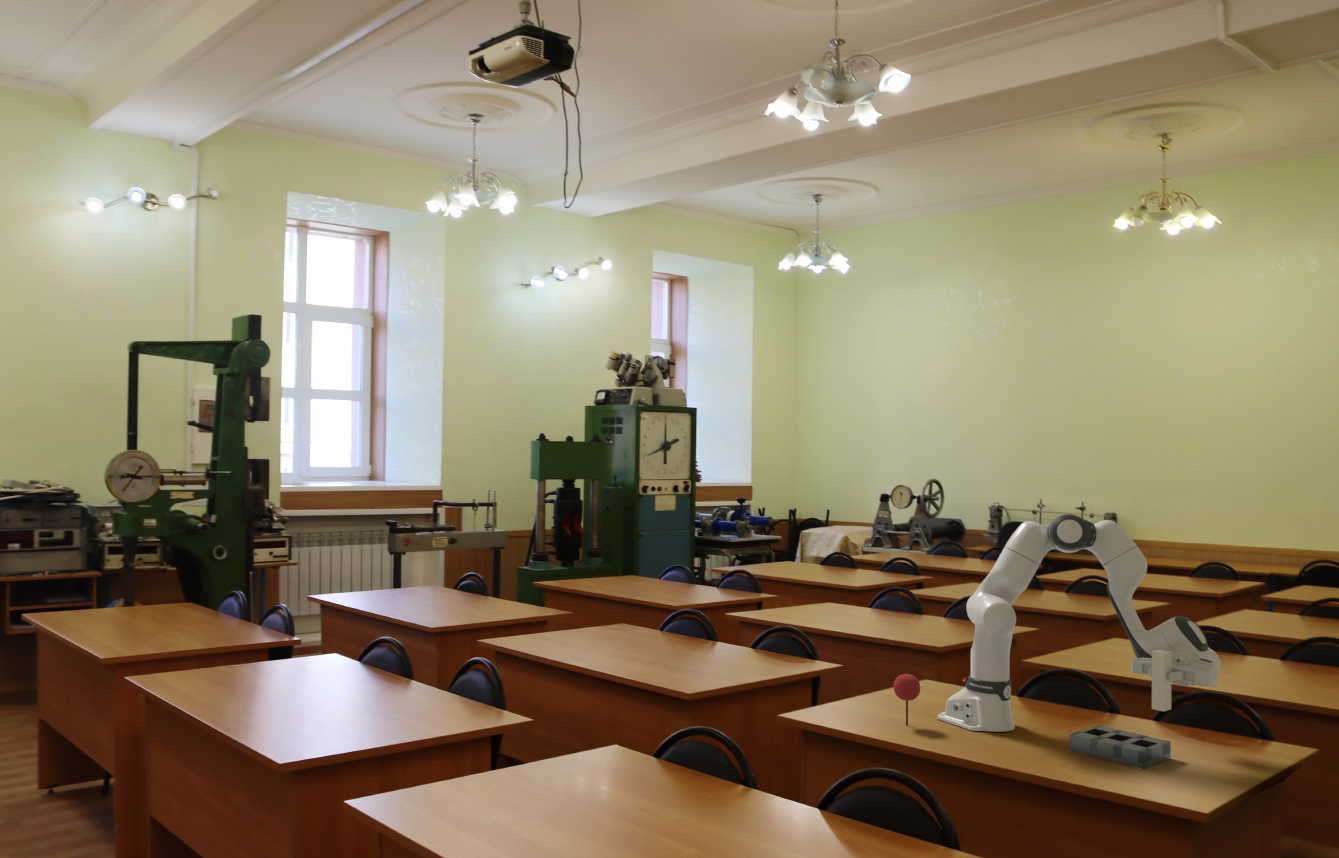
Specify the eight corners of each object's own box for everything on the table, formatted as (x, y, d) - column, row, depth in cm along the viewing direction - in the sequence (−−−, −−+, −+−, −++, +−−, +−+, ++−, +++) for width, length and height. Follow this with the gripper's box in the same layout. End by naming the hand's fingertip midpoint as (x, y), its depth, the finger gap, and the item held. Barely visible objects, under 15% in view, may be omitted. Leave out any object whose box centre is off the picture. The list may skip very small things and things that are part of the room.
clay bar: (1163, 711, 245) (1163, 653, 246) (1151, 708, 247) (1151, 651, 248) (1171, 709, 248) (1171, 651, 248) (1159, 706, 250) (1159, 649, 251)
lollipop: (917, 722, 285) (918, 671, 285) (921, 729, 277) (922, 677, 278) (891, 721, 285) (892, 670, 286) (895, 728, 278) (895, 676, 278)
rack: (1142, 769, 243) (1142, 751, 243) (1069, 750, 258) (1070, 734, 259) (1170, 758, 253) (1170, 741, 253) (1098, 740, 268) (1098, 724, 269)
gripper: (1144, 650, 264) (1120, 655, 256) (1223, 663, 248) (1201, 669, 240) (1144, 673, 264) (1120, 679, 255) (1223, 687, 248) (1200, 694, 239)
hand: (1160, 674), depth 247 cm, fingers closed on clay bar, 3 cm apart
